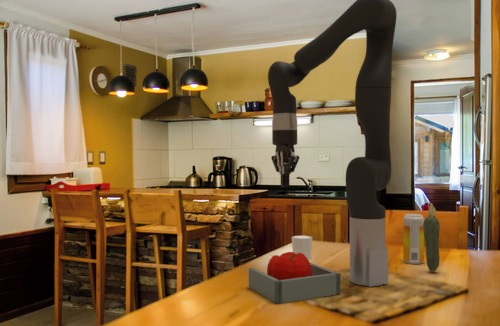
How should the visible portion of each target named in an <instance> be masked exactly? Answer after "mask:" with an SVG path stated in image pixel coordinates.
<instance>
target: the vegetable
mask: <svg viewBox="0 0 500 326" xmlns="http://www.w3.org/2000/svg"><path fill="white" fill-rule="evenodd" d="M427 208H428V212H427V213H428V215H427V216H426V217H425V218H424V224H423V231H424V245H425V257H426V265H427V268H428V271H430V272H431V273H433V272H434V273H435V272H436V271H438V268H439V267H440V230H441V229H440V221H439V219H438V218H437V217H436V214H437V210H436V207H434V204H433V203H432V202H428V206H427Z"/></svg>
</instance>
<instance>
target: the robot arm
mask: <svg viewBox="0 0 500 326" xmlns="http://www.w3.org/2000/svg"><path fill="white" fill-rule="evenodd" d="M396 23H397V8H396V7H395V4H394V3H393V2H392V1H391V0H355V1H354V2H353V3H352V4H351V5H350V6H349V7H348V8H347V9H346V10H345V11H344V12H343V13H342V14H341V15H340V16H339V17H338V18H337V19H336V20H335V21H334V22H333V23H331V24H330V25H329V26H328V27H327V28H326V29H325V30H323V32H321V33H320V34H319V35H318V36H316V37H315V38H314V39H312V40H311V41H309V42H308V43H306V44H305V45H304V46H302V47H300V48H299V49H298V50H297V51H296V52H295V54H294V56H293V61H292V62H290V63H289V62H285V61H279V60H277V61H274V62H273V63H272V64H271V65H270V66H269V69H268V71H267V81H268V85H269V91H270V94H271V97H272V120H271V121H272V123H271V124H272V125H271V126H272V131H271V133H272V134H271V136H272V139H271V140H272V141H271V143H272V145H273V146H275V151H274V152H275V154H274V155H272V156H271V160H272V164H273V167H274V169H275V170H276V173H279V175H280V187H281V188H289V187H290V175H291V174H292V173H294V172H295V170H296V168H297V165H298V163H299V160H300V155H297V154H296V151H295V146H297V145H298V116H297V98H296V96H295V95H294V94H293V93H291V91H290V88H293V87H295V86H297V85H298V84H300V83H301V82H302V81H303V80H304V79H305V78H306V77H307V76H308V75H309V74H310V73H311V71H313V70H314V69H316V68H318V67H319V66H320V65H322V64H324V63H326V62H327V61H328V60H330V58H331V57H333V55H334V54H336V51H338V49H339V48H340V46H341V45H342V44H343V43H344V42H345V41H346V40H348V39H349V38H350V37H352V36H354V35H355V34H358V33H360V32H363V31H365V34H366V42H365V43H366V47H365V49H366V50H365V56H364V59H363V62H362V65H361V66H360V69H359V71H358V75H357V77H356V81H355V91H354V92H355V93H354V106H355V108H354V109H355V112H356V115H357V119H358V121H359V124H360V126H361V129H362V132H363V136H364V141H365V144H364V147H365V148H364V149H365V151H364V156H357V157H354V158H353V159H351V160H350V161H349V162H348V164H347V165H346V169H345V192H346V193H345V194H346V196H345V197H346V204H347V208H348V210H349V281H350V282H351V283H352V284H355V285H359V286H366V287H368V288H369V287H370V288H372V287H376V286H377V287H378V286H383V284H385V285H388V284H389V249H388V247H386V215H387V213H386V207H385V206H384V205H382V204H380V203H379V202H378V199H377V198H378V197H377V192H378V191H382V190H384V189H386V188H387V186H388V185H389V184H390V182H391V179H392V158H391V156H392V155H391V146H390V143H391V142H390V141H391V140H390V136H391V135H390V132H391V131H390V129H391V128H390V127H391V126H390V125H391V105H392V71H393V45H394V40H395V39H394V38H395V31H396V25H397V24H396Z"/></svg>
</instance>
